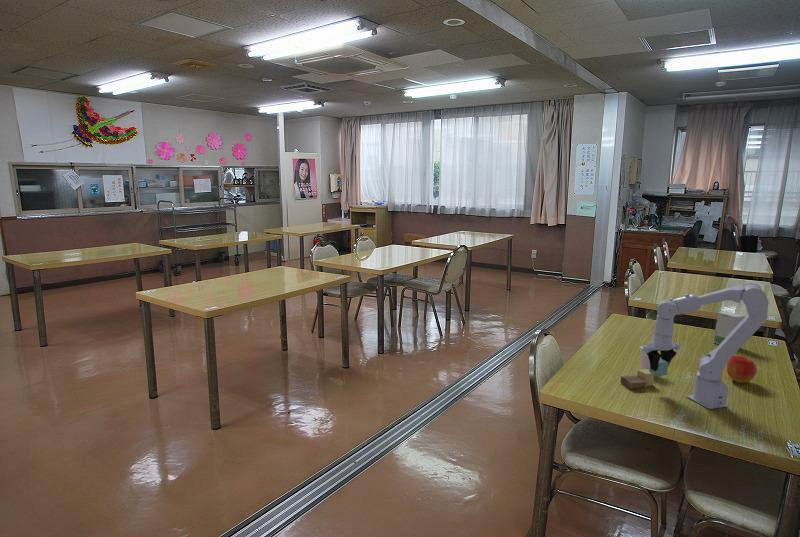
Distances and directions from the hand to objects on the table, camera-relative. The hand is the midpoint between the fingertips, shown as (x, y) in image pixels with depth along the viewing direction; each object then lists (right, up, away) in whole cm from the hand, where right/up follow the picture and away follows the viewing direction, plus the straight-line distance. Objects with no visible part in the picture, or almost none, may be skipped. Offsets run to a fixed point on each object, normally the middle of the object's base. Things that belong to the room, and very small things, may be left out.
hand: (658, 369), depth 171 cm
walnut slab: (-7, -8, +5) cm, 12 cm away
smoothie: (+6, -5, +20) cm, 21 cm away
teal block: (0, -2, 0) cm, 2 cm away
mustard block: (-1, -7, +7) cm, 10 cm away
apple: (+37, -7, +11) cm, 39 cm away
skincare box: (+60, 0, +51) cm, 79 cm away
